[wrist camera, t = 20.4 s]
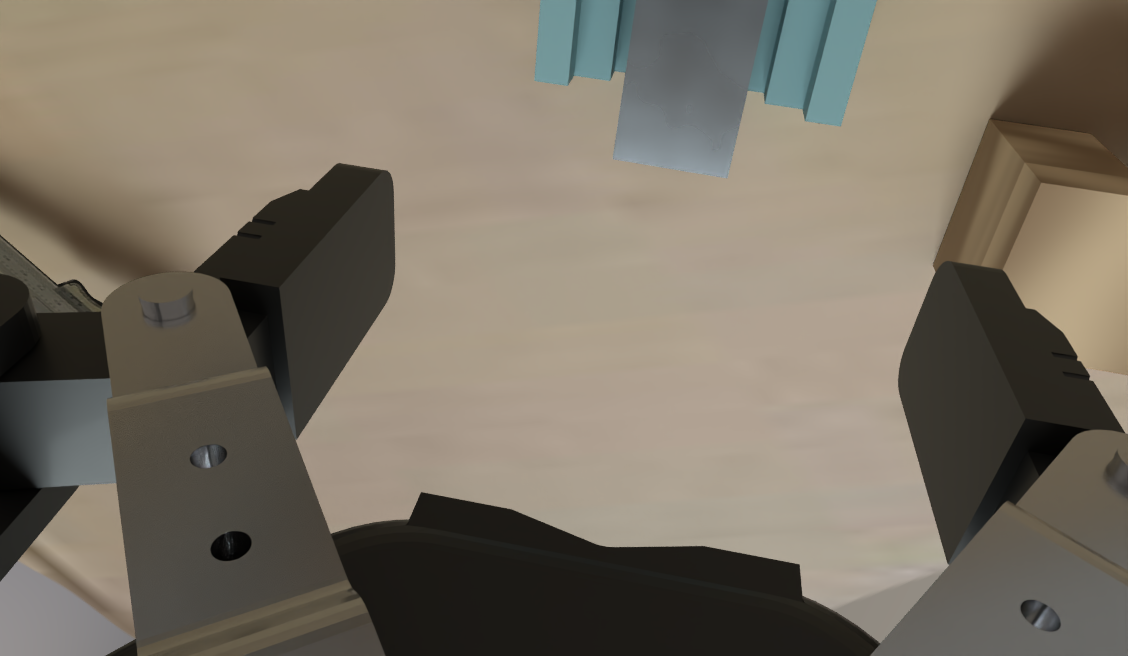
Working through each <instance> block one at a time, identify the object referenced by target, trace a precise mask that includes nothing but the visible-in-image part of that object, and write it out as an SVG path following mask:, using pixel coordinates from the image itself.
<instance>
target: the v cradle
mask: <svg viewBox="0 0 1128 656" xmlns="http://www.w3.org/2000/svg"><path fill="white" fill-rule="evenodd" d="M876 1H877V0H768V4H767V8H766V13H765V17H764V21H763V26H762V30H761V34H760V39H759V43H758V47H757V52H756V56H755V60H754V65H753V69H752V73H751V78H750V82H749V86H748V91H755V92H762V93H764V100H765V104H771V105H778V106H784V107H791V108H798V109H803V114H804V118H805V121H808V122H815V123H821V124H828V125H835V126H841V123H842V120H843V116H844V113H845V109H846V106H847V103H848V99H849V96H850V92H851V89H852V85H853V82H854V78H855V75H856V71H857V68H858V64H859V61H860V57H861V54H862V50H863V47H864V43H865V40H866V36H867V33H868V29H869V26H870V22H871V19H872V15H873V12H874V8H875V5H876ZM635 5H636V0H541V2H540V15H539V28H538V41H537V54H536V67H535V81H539V82H545V83H552V84H559V85H566V86H568V85H569V83H570V81H571V80H572V78H573V76H581V77H587V78H594V79H601V80H608V81H610V80H611V78H612V76H613V73H614V71H618V72H625V73H626V66H627V59H628V52H629V45H630V39H631V32H632V25H633V18H634V12H635Z"/></svg>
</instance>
